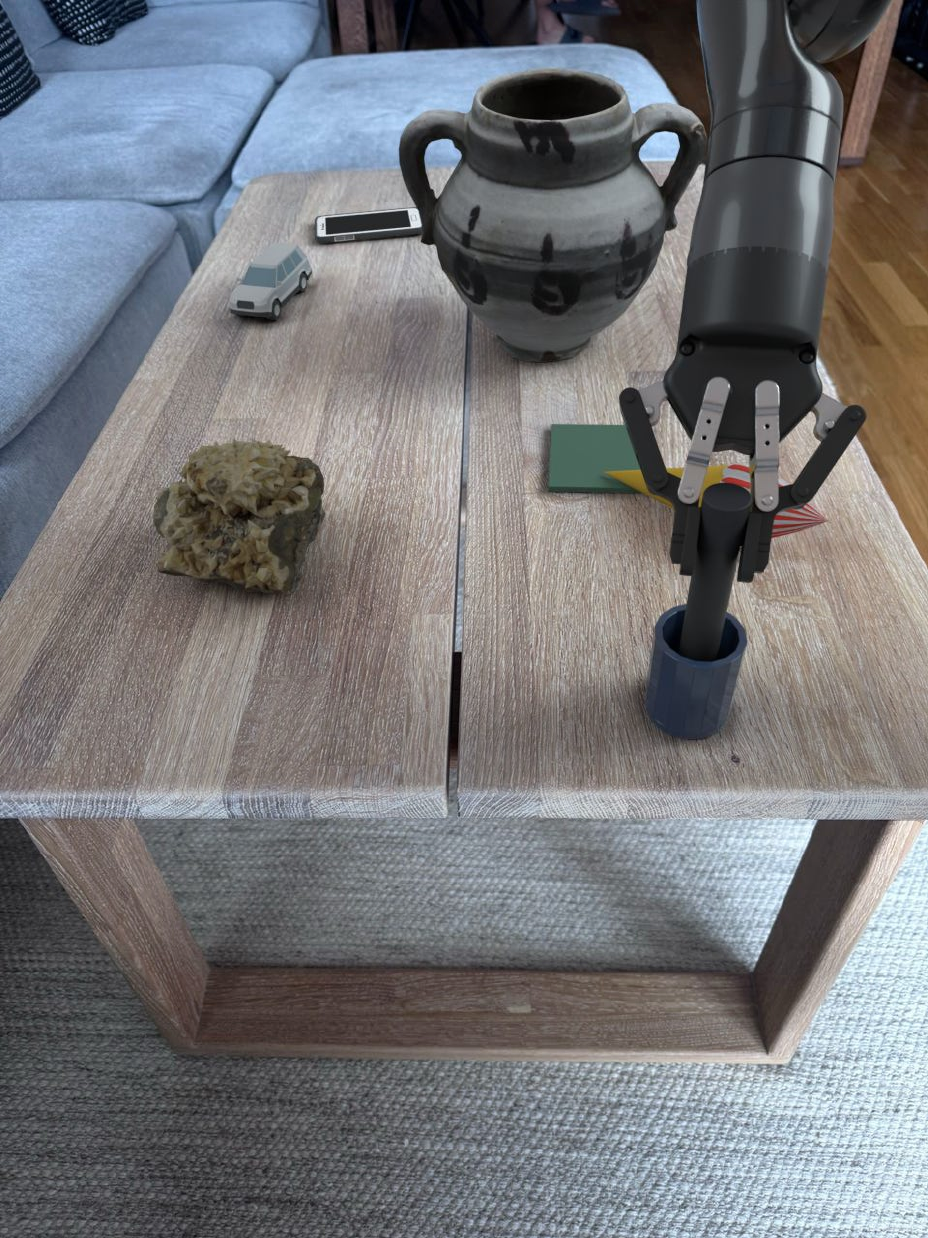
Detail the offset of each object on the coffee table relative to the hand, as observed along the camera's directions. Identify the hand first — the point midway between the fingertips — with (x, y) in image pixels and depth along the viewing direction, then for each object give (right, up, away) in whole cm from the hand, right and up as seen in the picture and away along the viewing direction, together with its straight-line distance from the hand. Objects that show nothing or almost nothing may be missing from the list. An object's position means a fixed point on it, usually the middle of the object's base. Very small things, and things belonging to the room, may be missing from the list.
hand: (715, 576), depth 50 cm
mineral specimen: (-32, +2, +24) cm, 41 cm away
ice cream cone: (+6, +6, +25) cm, 27 cm away
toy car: (-37, +36, +59) cm, 78 cm away
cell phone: (-27, +51, +73) cm, 93 cm away
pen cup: (+1, -8, +11) cm, 14 cm away
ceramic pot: (-5, +27, +48) cm, 56 cm away
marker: (+1, -6, +8) cm, 10 cm away
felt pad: (-2, +12, +32) cm, 34 cm away
